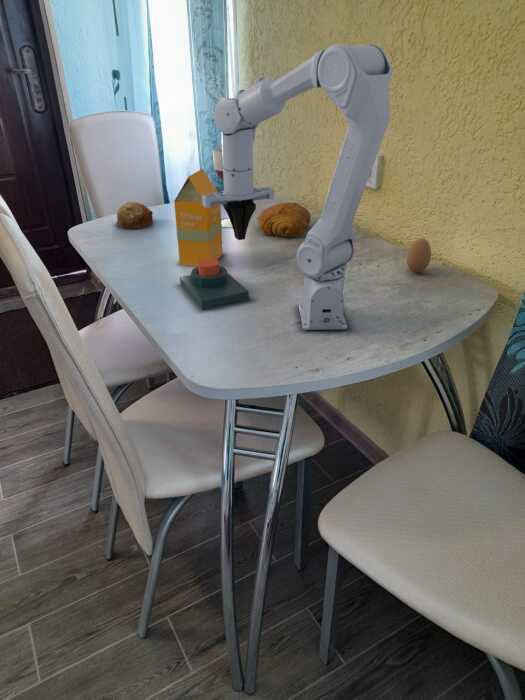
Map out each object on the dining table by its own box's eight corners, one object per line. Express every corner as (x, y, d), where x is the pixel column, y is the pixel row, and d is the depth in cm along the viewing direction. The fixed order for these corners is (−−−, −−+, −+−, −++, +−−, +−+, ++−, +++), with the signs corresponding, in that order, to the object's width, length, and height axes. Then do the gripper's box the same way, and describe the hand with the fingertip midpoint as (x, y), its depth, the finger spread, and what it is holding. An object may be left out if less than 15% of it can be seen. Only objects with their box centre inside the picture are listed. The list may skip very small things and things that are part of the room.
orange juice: (223, 254, 123) (219, 169, 113) (210, 267, 116) (205, 177, 105) (193, 251, 125) (186, 167, 114) (178, 264, 118) (170, 175, 107)
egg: (399, 270, 115) (404, 236, 110) (416, 266, 117) (422, 232, 113) (415, 278, 111) (421, 243, 107) (432, 274, 113) (439, 239, 109)
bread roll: (122, 232, 148) (106, 209, 143) (151, 213, 149) (136, 189, 144) (129, 242, 141) (113, 218, 136) (160, 222, 142) (145, 198, 137)
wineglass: (211, 226, 142) (207, 151, 131) (222, 217, 149) (219, 145, 138) (238, 229, 140) (236, 152, 129) (248, 219, 147) (247, 147, 136)
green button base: (248, 300, 101) (248, 282, 99) (202, 310, 97) (200, 291, 95) (223, 277, 111) (223, 260, 109) (180, 285, 107) (178, 268, 105)
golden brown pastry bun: (313, 230, 145) (316, 202, 142) (303, 240, 131) (306, 209, 128) (264, 225, 148) (266, 197, 145) (250, 234, 134) (252, 203, 131)
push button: (223, 275, 103) (222, 264, 102) (202, 278, 101) (202, 268, 100) (215, 267, 106) (214, 257, 105) (195, 271, 105) (194, 260, 103)
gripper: (262, 161, 101) (262, 227, 108) (194, 168, 95) (199, 237, 102) (279, 167, 95) (278, 237, 103) (208, 175, 90) (212, 248, 97)
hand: (239, 238), depth 102 cm, fingers closed
